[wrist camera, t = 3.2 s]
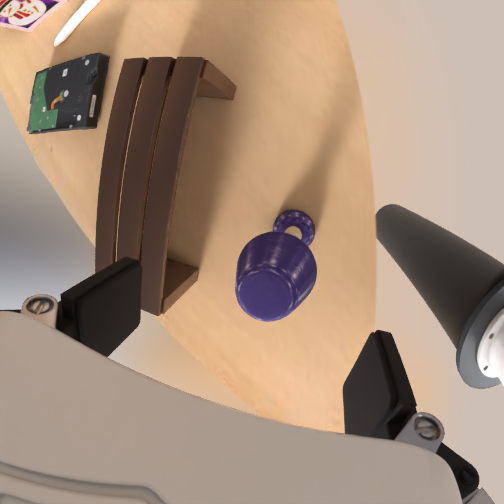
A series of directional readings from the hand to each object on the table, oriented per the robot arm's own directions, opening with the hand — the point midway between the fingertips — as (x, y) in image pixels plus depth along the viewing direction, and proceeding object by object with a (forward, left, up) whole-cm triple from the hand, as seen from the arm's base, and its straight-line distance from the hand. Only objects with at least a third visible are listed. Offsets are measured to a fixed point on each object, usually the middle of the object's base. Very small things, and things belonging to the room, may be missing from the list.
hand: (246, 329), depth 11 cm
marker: (+35, -27, -20) cm, 48 cm away
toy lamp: (0, 0, -20) cm, 20 cm away
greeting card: (+50, -31, -20) cm, 62 cm away
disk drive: (+34, -11, -20) cm, 40 cm away
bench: (+13, -2, -20) cm, 23 cm away
